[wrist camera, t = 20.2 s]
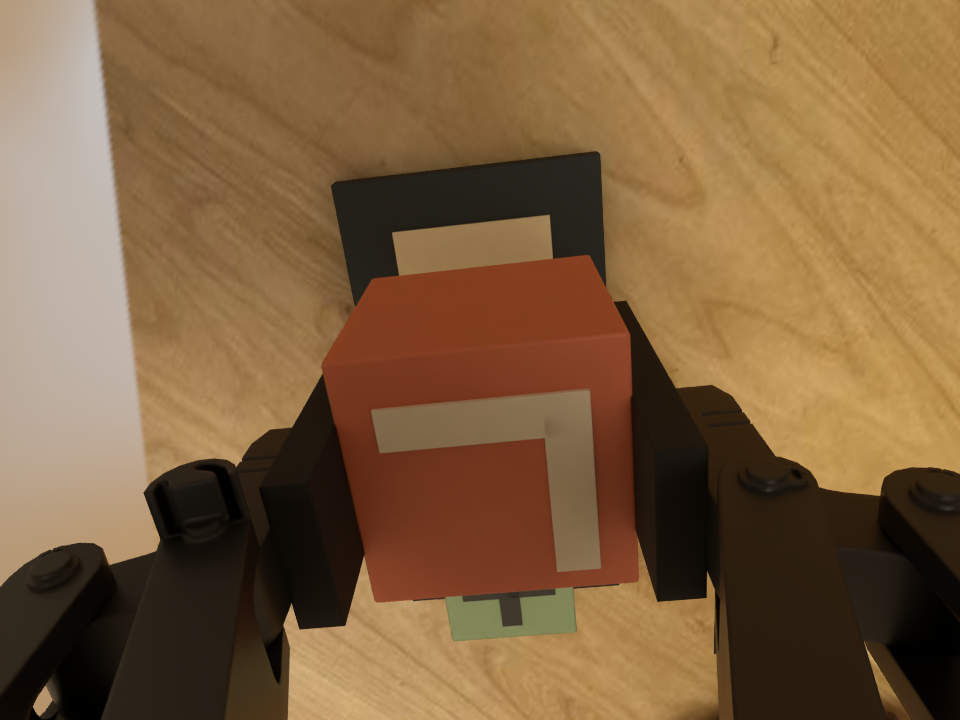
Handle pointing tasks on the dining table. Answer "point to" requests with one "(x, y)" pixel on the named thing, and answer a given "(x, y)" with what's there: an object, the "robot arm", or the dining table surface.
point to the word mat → (471, 219)
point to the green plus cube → (512, 614)
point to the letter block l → (488, 430)
